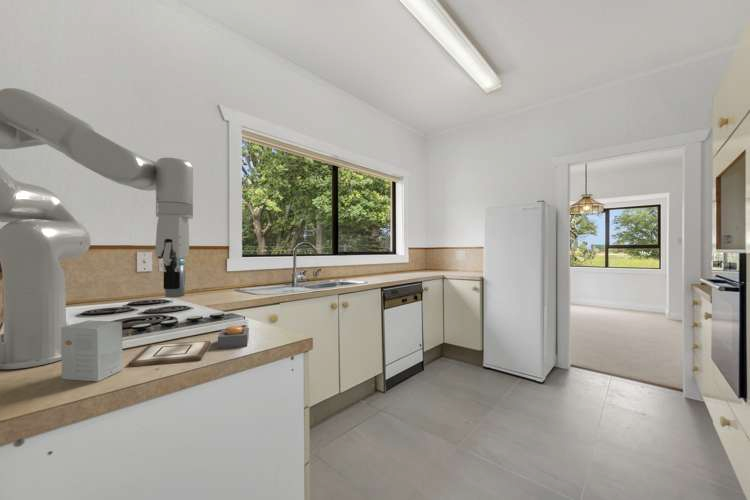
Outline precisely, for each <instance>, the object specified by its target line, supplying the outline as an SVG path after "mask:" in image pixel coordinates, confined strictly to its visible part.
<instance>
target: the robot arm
mask: <svg viewBox="0 0 750 500" xmlns="http://www.w3.org/2000/svg"><path fill="white" fill-rule="evenodd" d="M43 145H47V146H49V147H50V148H52V149H55V150H57V151H59V152H61V153H62V154H63V155H65V156H66V157H67V158H68V159H69V158H70V159H71V160H73V161H74V162H75V163H77V164H78V165H81V166H83V167H84V168H86V169H89V170H90V171H92V172H93V173H96V174H98V175H99V176H102V177H103V178H105V179H107V180H110V181H111V182H114V183H117V184H120V185H124V186H127V187H130V188H134V189H137V190H141V191H150V192H151V191H155V217H156V218H157V223H156V233H155V234H156V235H155V248H154V249H155V251H154V252H155V253H154V254H155V255H154V256H155V257H156V259H158V260H162V263H163V289H164V290H165V289H179V288H180V272H178V268H179V259H185V258H186V257H188V256H189V254H190V226H189V225H190V224H189V220H190V219H193V218H194V166H193V165H192V164H191V162H190V161H188V160H185V159H181V158H175V157H160V158H158V160H156V161H154V160H153V159H149V158H147V157H145V156H143V155H141V154H138V153H136V152H134V151H131V150H130V149H128V148H126V147H123V146H122V145H120V144H119V143H116V142H114V141H112V140H110V139H109V138H107V137H105V136H104V135H101V134H100V133H98V132H97V131H95V130H94V128H93V127H92V125H91V124H89V123H88V122H86V121H84V120H82V119H80V118H78V117H77V116H75V115H73V114H71V113H69V112H68V111H66V110H64V108H62V107H61V106H60V107H59V106H58V105H56V104H54V103H52V102H50V101H48V100H46V99H45V98H43V97H40V96H38V95H36V94H35V93H32V92H30V91H28V90H24V89H20V88H15V87H14V88H13V87H7V88H2V89H0V150H16V149H23V148H31V147H37V146H38V147H39V146H43ZM0 222H1V223H6V224H5V225H3V226H2V227H1V228H0V266H1V274H2V293H3V341H2V342H0V370H19V369H28V368H34V367H39V366H42V365H48V364H53V363H55V362H58V361H62V360H61V327H64V326H67V299H66V298H67V293H66V292H67V290H66V289H67V288H66V283H67V282H66V275H65V271H64V270H63V266H61V263H60V261H61V260H62V261H63V260H70V259H76V258H78V257H82V256H83V255H84V254H85V253H87V251H88V250H89V249H90V247H91V236H90V233H89V232H88V230H87V228H86V227H85V226H84V224H83V223H82V222H81V221H80V220H79V219H78V217H77V216H76V215H75V214H74V213H73V212H72V210H71V209H70V208H69V207H68V205H66V204H65V203H64V201H63V200H62V199H61V198H60V197H59V196H58V195H57V194H55V193H54V192H52V191H51V190H50V189H47V188H45V187H42V186H40V185H34V184H29V183H25V182H21V181H19V180H16V179H15V178H14V177H12V176H11V175H10V174H9V173H8V172H7V171H6V170H5V169H4V168H3V167H2V166H1V165H0ZM171 257H176V258H171ZM185 260H186V259H185ZM174 261H175V263H174Z"/></svg>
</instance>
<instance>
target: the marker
mask: <svg viewBox="0 0 750 500" xmlns="http://www.w3.org/2000/svg"><path fill="white" fill-rule="evenodd" d="M171 258H176V257H171ZM185 260H186V259H179V268H178V272H180V288H179V289H164V298H170V299H172V298H181V297H182V298H183V297H185V293H186V291H185V285H186V261H185ZM174 263H175V261H174Z"/></svg>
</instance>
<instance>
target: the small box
mask: <svg viewBox="0 0 750 500" xmlns="http://www.w3.org/2000/svg"><path fill="white" fill-rule="evenodd" d="M123 358H124V357H123V322H122V321H111V320H110V321H108V320H107V321H106V320H85V321H81V322H76V323H73V324H68V325H66V326H64V327H61V360H60V361H61V379H62V380H68V381H69V380H70V381H82V382H96V383H97V382H100V381H103V380H104V379H106V378H108V377H110V376H113V375H115V374H117V373H119V372H121V371H123V369H124V368H123V367H124V365H123Z"/></svg>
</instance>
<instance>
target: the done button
mask: <svg viewBox="0 0 750 500" xmlns="http://www.w3.org/2000/svg"><path fill="white" fill-rule="evenodd" d="M242 328H243V326H241V325H231V326H227V327H226V328H225V329H226V335H236V334H242Z"/></svg>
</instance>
